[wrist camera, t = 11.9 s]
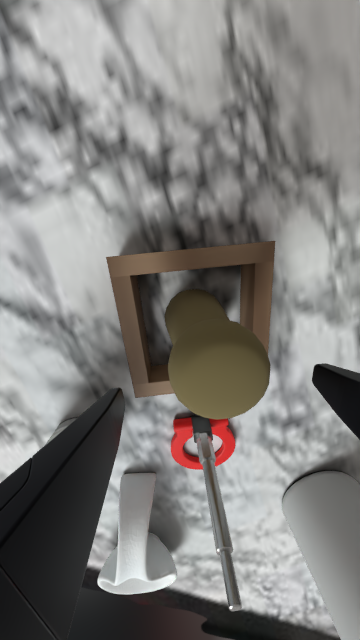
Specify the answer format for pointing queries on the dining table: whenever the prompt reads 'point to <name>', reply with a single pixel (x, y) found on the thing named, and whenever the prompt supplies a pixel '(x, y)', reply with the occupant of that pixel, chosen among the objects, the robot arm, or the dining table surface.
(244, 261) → the walnut socket block
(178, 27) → the dining table surface
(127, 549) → the spoon rest
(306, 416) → the dining table surface
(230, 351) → the olive tall rounded piece
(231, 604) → the tow hook
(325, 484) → the cylinder vase
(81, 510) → the robot arm
